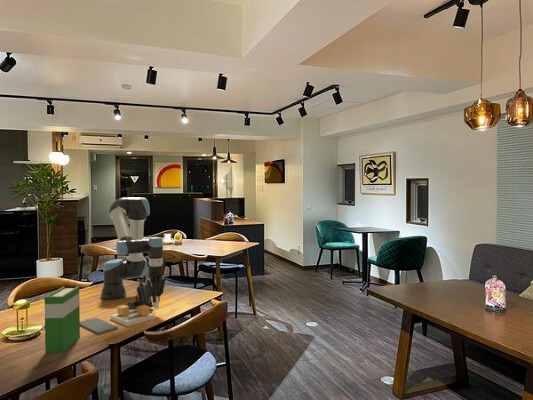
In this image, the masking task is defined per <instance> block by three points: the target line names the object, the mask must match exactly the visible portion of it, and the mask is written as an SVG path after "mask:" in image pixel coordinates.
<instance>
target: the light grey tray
mask: <svg viewBox="0 0 533 400" xmlns="http://www.w3.org/2000/svg"><path fill="white" fill-rule="evenodd" d="M109 318H110V320H112V321H113V322H117V323H118V324H121V325H123V326H125V327H130V326H134V325H137V324H138V325H139V324H140V323H141V324H142V323H144V322H147V321H151V320H155V318H156V317H155V313H154V314H153V313H150V312H149V314H148V315H144V316H142V315H139V314H137V308H133V309H129V314H128V315H124V316H121V315H119V314H117V313H115V314H110V315H109Z"/></svg>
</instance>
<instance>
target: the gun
mask: <svg viewBox="0 0 533 400" xmlns="http://www.w3.org/2000/svg"><path fill="white" fill-rule="evenodd" d="M138 282H139V285H138V286H137V288H136V292H137V294H136V295H135V301H133V302H128V303H127V306H129V309H131V308H133V309H137V306H141V305H146V306H149V309H151V308H152V309H153V308H154V303H153V302H152V296H149V293H148V289H147V284H144V283H143V280H142V279H139V281H138Z"/></svg>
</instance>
